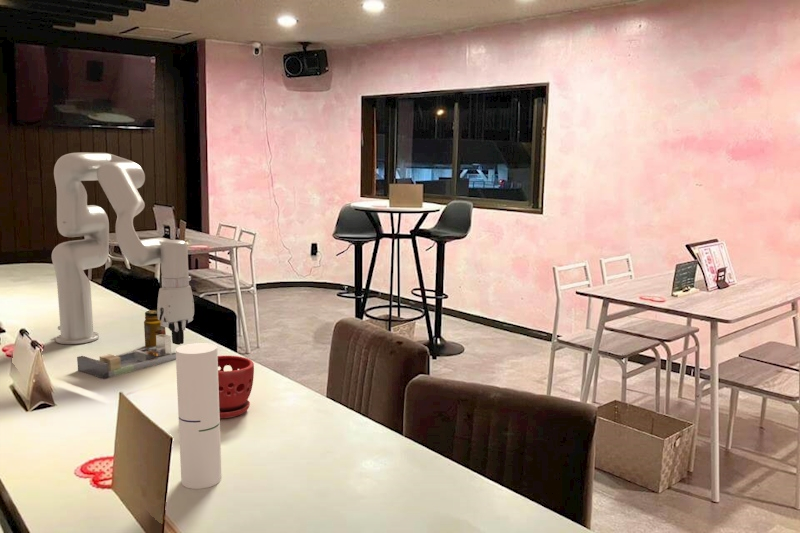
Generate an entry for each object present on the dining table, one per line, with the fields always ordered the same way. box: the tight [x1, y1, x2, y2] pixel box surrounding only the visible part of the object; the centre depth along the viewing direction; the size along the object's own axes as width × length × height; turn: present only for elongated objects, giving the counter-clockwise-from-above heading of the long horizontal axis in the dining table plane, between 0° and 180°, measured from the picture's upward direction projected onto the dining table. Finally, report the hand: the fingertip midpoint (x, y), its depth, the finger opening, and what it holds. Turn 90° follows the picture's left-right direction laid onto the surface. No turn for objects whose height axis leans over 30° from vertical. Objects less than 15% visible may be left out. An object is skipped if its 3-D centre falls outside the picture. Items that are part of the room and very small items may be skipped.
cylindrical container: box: [175, 342, 223, 490], centre depth 128 cm, size 7×7×25 cm
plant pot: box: [218, 355, 255, 419], centre depth 163 cm, size 13×13×12 cm
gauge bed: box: [76, 346, 176, 380], centre depth 196 cm, size 12×24×5 cm, turn 145°
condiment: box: [143, 309, 167, 349], centre depth 214 cm, size 7×8×12 cm
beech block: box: [99, 353, 121, 371], centre depth 191 cm, size 5×3×4 cm, turn 55°
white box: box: [133, 334, 172, 361], centre depth 201 cm, size 8×9×6 cm
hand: (178, 343), depth 208 cm, fingers closed
